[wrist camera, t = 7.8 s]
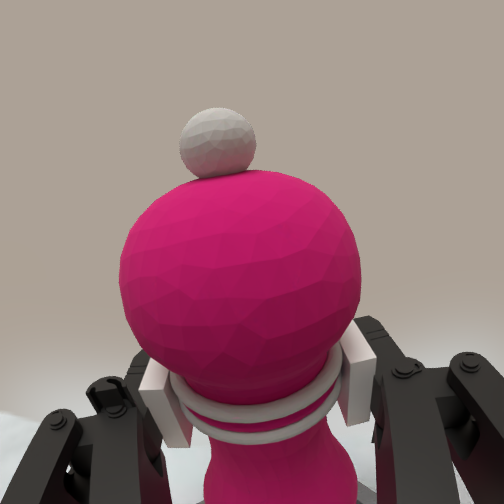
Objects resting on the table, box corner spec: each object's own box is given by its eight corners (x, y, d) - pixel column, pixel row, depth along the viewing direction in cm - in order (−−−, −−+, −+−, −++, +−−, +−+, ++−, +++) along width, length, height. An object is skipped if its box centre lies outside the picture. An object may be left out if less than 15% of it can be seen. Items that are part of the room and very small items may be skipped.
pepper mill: (201, 537, 12) (18, 160, 6) (267, 462, 18) (202, 131, 12) (312, 588, 8) (263, 7, 2) (368, 493, 14) (393, 99, 7)
